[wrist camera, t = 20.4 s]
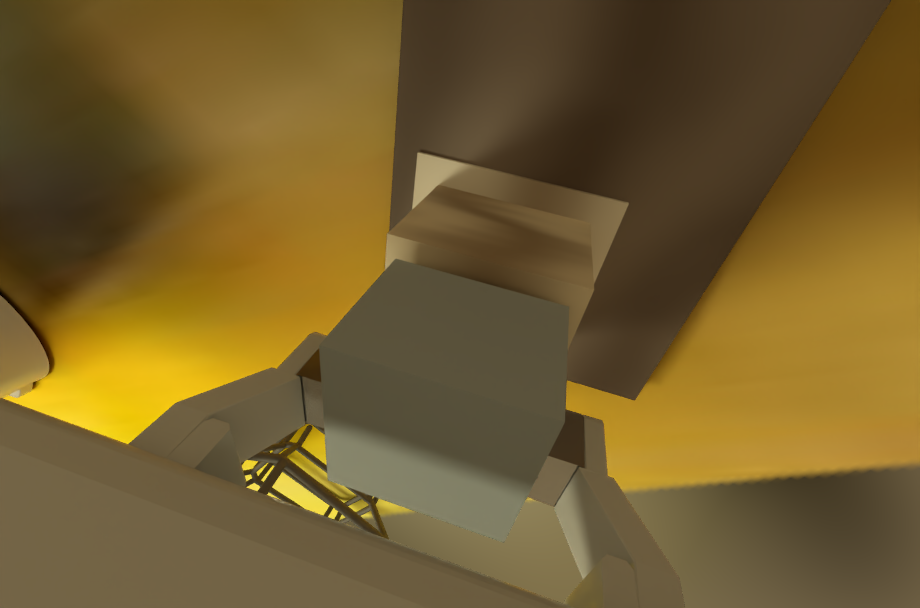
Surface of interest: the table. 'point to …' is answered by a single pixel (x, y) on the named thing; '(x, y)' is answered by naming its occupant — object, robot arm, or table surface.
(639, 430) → the table surface
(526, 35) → the board
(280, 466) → the geometric lantern
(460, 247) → the block
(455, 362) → the top block
